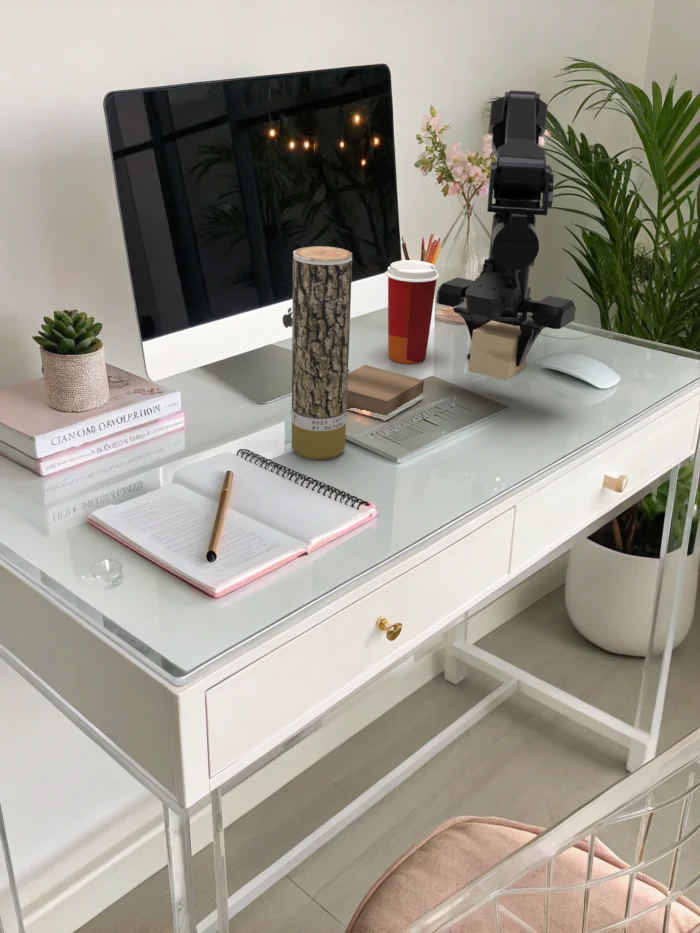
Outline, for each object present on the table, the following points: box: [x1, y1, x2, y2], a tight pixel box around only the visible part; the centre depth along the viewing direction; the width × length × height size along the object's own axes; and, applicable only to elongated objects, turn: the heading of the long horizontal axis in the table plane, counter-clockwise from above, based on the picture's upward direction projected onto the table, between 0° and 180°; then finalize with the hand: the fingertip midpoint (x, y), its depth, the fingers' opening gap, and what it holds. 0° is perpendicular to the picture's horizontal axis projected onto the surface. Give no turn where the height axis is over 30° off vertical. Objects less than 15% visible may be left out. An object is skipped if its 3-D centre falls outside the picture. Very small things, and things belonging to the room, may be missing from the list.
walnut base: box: [347, 364, 425, 416], centre depth 131 cm, size 10×10×3 cm
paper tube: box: [291, 245, 353, 461], centre depth 111 cm, size 7×7×25 cm
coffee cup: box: [384, 259, 440, 365], centre depth 145 cm, size 8×8×15 cm
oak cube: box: [468, 321, 528, 381], centre depth 130 cm, size 6×6×6 cm
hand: (498, 360), depth 131 cm, fingers closed on oak cube, 6 cm apart
